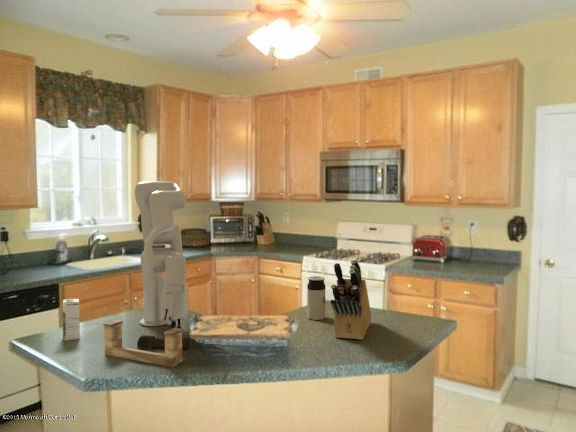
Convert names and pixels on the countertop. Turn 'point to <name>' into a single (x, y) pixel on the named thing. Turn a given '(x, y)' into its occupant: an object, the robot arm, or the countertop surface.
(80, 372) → the countertop surface
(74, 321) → the syrup box
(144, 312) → the robot arm
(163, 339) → the hand tool
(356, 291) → the knife block
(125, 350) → the wooden u-shaped stand
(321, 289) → the travel mug
